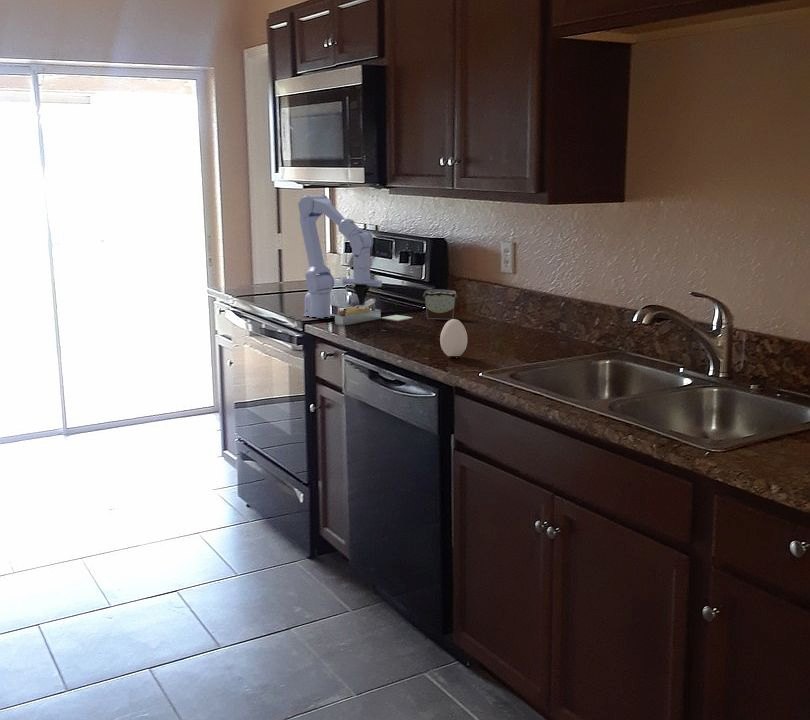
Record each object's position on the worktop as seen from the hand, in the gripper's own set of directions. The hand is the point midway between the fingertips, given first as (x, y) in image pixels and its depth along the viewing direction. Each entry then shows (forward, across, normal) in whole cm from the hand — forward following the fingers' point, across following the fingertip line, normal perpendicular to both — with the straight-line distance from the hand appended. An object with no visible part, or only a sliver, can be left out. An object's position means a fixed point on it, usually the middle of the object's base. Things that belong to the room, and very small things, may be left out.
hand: (361, 305), depth 319 cm
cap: (+3, +2, -2) cm, 4 cm away
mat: (+6, -8, -12) cm, 16 cm away
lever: (0, -1, -2) cm, 2 cm away
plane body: (+6, +2, -2) cm, 7 cm away
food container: (+6, -22, -20) cm, 31 cm away
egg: (+6, -49, +42) cm, 64 cm away
